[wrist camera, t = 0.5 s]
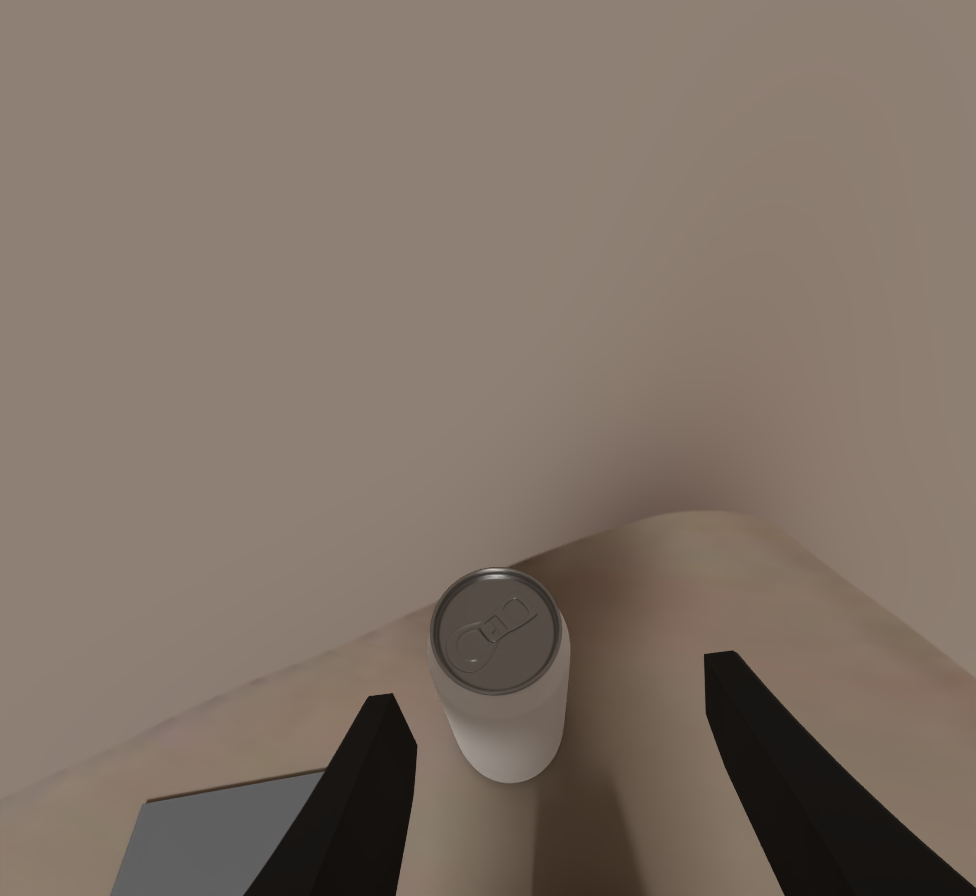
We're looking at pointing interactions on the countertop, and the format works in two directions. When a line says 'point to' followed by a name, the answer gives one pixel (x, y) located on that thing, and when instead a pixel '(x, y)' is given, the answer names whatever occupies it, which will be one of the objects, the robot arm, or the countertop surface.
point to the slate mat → (210, 839)
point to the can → (501, 671)
